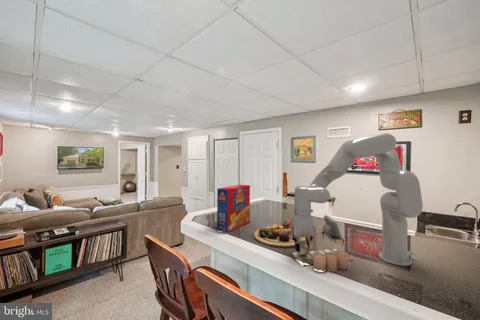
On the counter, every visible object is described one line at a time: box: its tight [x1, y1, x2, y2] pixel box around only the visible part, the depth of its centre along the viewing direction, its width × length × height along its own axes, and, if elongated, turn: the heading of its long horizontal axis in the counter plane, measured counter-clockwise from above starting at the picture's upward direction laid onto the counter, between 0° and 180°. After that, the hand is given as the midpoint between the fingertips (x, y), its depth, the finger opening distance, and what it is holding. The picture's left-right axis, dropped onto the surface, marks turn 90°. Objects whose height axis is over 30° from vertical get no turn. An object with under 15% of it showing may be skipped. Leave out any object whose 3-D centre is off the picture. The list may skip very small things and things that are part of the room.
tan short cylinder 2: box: [324, 252, 338, 272], centre depth 89 cm, size 5×5×6 cm
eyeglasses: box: [315, 231, 345, 249], centre depth 117 cm, size 14×14×4 cm
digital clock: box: [322, 214, 343, 240], centre depth 131 cm, size 16×9×11 cm, turn 167°
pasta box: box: [216, 184, 251, 234], centre depth 145 cm, size 28×8×28 cm, turn 147°
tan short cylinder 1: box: [312, 253, 327, 271], centre depth 89 cm, size 5×5×6 cm
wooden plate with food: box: [253, 219, 305, 249], centre depth 126 cm, size 32×32×8 cm
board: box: [289, 248, 354, 264], centre depth 100 cm, size 26×12×1 cm, turn 102°
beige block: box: [298, 240, 310, 256], centre depth 100 cm, size 4×4×6 cm
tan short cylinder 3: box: [335, 249, 349, 270], centre depth 91 cm, size 5×5×6 cm
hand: (302, 250), depth 100 cm, fingers closed on beige block, 4 cm apart
